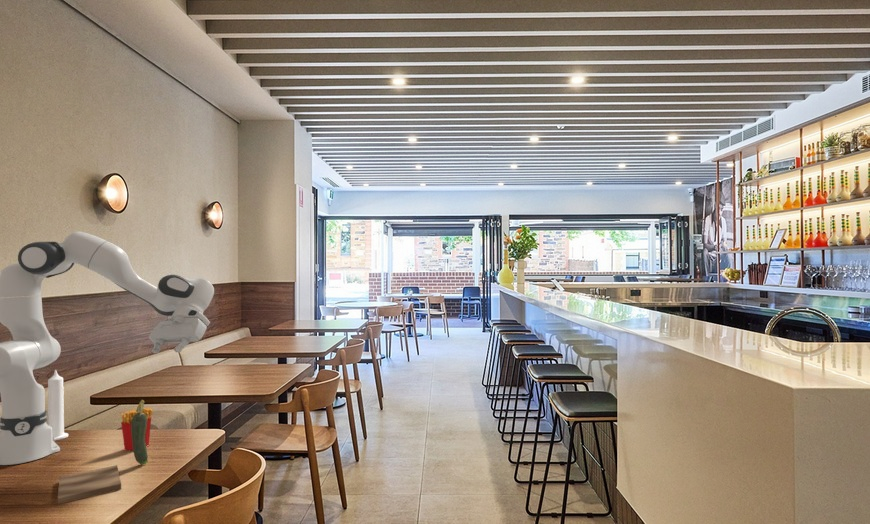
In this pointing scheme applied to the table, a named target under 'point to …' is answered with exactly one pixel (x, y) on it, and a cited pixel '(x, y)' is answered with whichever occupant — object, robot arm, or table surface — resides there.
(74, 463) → the table surface
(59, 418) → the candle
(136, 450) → the vegetable
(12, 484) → the table surface
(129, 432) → the french fries
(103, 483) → the cutting board
